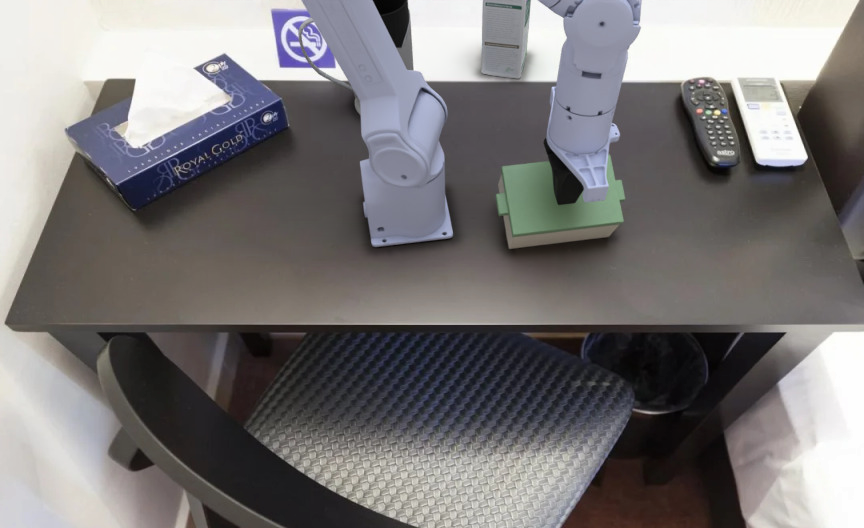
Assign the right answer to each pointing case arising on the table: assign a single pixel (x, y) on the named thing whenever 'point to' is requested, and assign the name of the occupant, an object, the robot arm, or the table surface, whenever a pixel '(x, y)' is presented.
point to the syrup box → (504, 37)
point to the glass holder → (398, 23)
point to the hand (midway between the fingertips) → (565, 199)
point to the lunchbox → (553, 208)
